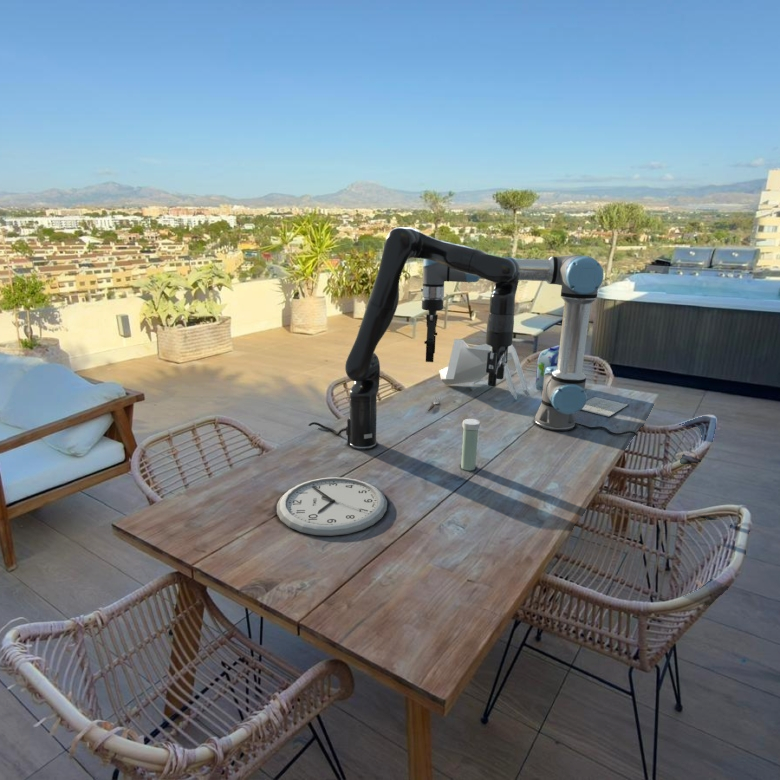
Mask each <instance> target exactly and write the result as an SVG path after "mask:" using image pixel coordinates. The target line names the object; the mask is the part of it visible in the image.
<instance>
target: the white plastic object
mask: <svg viewBox="0 0 780 780" xmlns="http://www.w3.org/2000/svg"><path fill="white" fill-rule="evenodd" d="M490 351H492V346H491V345H487V344H486V343H483V344H479V345H473V346H469V345H468V343H466V342H465V340H464V339H463V338H460V339H458V338H454V340H453V344H452V349H451V353H450V357H449V362H448V366H446V367H444V368H442V369H440V370H439V371H438V372H439V376H440V381H442V383H443V384H444V385H445V386H449V385H458V384H467V383H468V384H469V383H473V384H477V383H480V382H482V381H484V378H485V377H486V376H487V375H489V373H486V368H487V357H488V352H490ZM510 360H513V363H514V366H515V369H516V372H517V376H518V380H519V382H520V385H521V389H522V391H523V393H524V395H525V396H526V397H528V396H531V395H530V390H529V388H528V387H529V386H528V384H527V381H526V378H525V375H524V371H523V369H522V368H523V367H522V366H521V362H520V359H519V355H518V352H517V349H516V347H515V346H514V345H513V344H512V345H511V346H508V356H507V362H508V361H510ZM491 369H493V367H492V368H491ZM504 376H505V380H506V383H507V386H508V390H509V393H510V394H511V395H512V397H513V398H514V399H515V400H517V392H516V391H517V390H516V388H515V385H514V381H513V378H512V375H511V371H510V369H509V365H508V363H507V364H506V366H505V367H504Z"/></svg>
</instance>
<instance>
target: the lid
mask: <svg viewBox="0 0 780 780" xmlns="http://www.w3.org/2000/svg"><path fill="white" fill-rule="evenodd" d="M480 424H481V422H480V420H478V419H475V418H465V419H463V420H462V428H463V429H466V430H471V431H474V430H478V431H479V429H480Z"/></svg>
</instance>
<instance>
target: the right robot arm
mask: <svg viewBox="0 0 780 780" xmlns="http://www.w3.org/2000/svg"><path fill="white" fill-rule="evenodd" d="M514 259H515V260H516V261H517V262H518V264H519V267H520V275H519V281H526V282H527V281H531V282H546V283H547V284H548V285H557V286H561V289H560V298H561V299H562V300H563V303H564V305H563V313H562V322H561V330H560V339H559V345H560V346H559V355H558V364H557V366H553V367H547V368H546V369H545V373H544V382H543V391H541V392H542V394H541V402H540V405H539V407H538V408H537V411H536V413H535V417H534V424H535V425H536V426H537V427H539V428H542V429H544V430H549V431H556V432H567V431H572V430H574V429H575V428H576V426H580V427H583V428H586V429H590V430H594V429H602V430H605V431H606V432H608V433H609V434H611V435H614V436H623V435H626V434H633V435H634V436H639V435H638V433H637V432H635V431H634V430H627V431H622V432H613V431H612V430H610V429H608V428H607V427H605V426H600V425H599V426H597V425H596V426H590V425H586V424H582V423H579V422H576V418H575V417H576V416H575V414H576V413H579V412H580V411H582V410H581V409H582V408H583V407H584V406H585V404H586V401H588V397H587V392H586V389H585V388H586V383H587V382H586V381H587V375H586V374H585V373H584V371H583V369H584V361H585V355H586V347H587V339H588V338H587V337H588V330H589V324H590V318H591V317H590V316H591V308H592V303H593V302H594V301H596V300H597V298H598V294H599V293H598V291H599V288H601V285H602V284H603V281H604V269H603V267H602V265H601V264H600V262H599V261H597V260H596V259H595V258H594V257H592V256H587V255H581V254H574V255H573V254H572V255H565V256H551V257H549V258H548V259H545V258H544V259H543V258H542V259H541V258H540V259H539V258H514ZM422 264H423V265H422V288H420V292H421V293H422V294H421V296H422V299H421V309H422V310H423V311H428V313H426V316H425V320H426V340H424V342H423V343H424V344H425V362H426V363H434V359H435V357H434V356H435V353H436V338H437V337H436V336H438V332H437V329H436V328H437V324H438V318H439V315H438V314H437V311H438V312H439V311H442V310H444V299H443V298H444V297H445V282H447V283H449V282H452V283H453V282H457V283H468V284H470V283H477V282H479V281H480V280H485V279H484V278H482V277H479V276H477V275H472V274H468V273H464V272H461V271H458V270H455V269H452V268H449V267H447V266H445V265H443V264H441V263H438V262H435V261H432V260H428V259H423V263H422Z"/></svg>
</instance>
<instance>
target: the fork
mask: <svg viewBox="0 0 780 780" xmlns="http://www.w3.org/2000/svg"><path fill="white" fill-rule="evenodd" d="M441 398H442V396H441V397H440V396H436V397H435V398H434V400H433V404H432V405H431V406H430V407H429V408H428V410H427V411H428V412H430V411H431V410H432V409H433V408H434V407H435V406H436V405H439V404H440V402H441Z"/></svg>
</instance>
